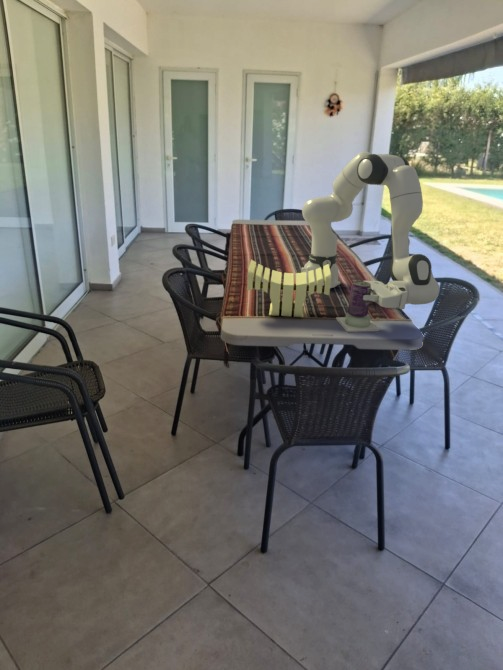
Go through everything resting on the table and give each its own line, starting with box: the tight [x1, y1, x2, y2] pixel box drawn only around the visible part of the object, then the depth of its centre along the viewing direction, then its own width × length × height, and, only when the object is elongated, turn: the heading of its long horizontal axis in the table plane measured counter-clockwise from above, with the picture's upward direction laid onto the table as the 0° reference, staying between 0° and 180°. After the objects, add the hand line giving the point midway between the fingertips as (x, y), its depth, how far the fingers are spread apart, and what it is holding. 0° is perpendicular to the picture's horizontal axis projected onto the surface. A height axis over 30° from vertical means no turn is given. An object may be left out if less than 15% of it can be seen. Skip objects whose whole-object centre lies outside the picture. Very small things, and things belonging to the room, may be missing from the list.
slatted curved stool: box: [246, 259, 331, 318], centre depth 186 cm, size 30×16×18 cm, turn 85°
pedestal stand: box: [335, 311, 380, 333], centre depth 178 cm, size 12×12×4 cm
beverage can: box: [347, 280, 371, 317], centre depth 175 cm, size 7×7×12 cm
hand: (358, 293), depth 174 cm, fingers closed on beverage can, 6 cm apart
